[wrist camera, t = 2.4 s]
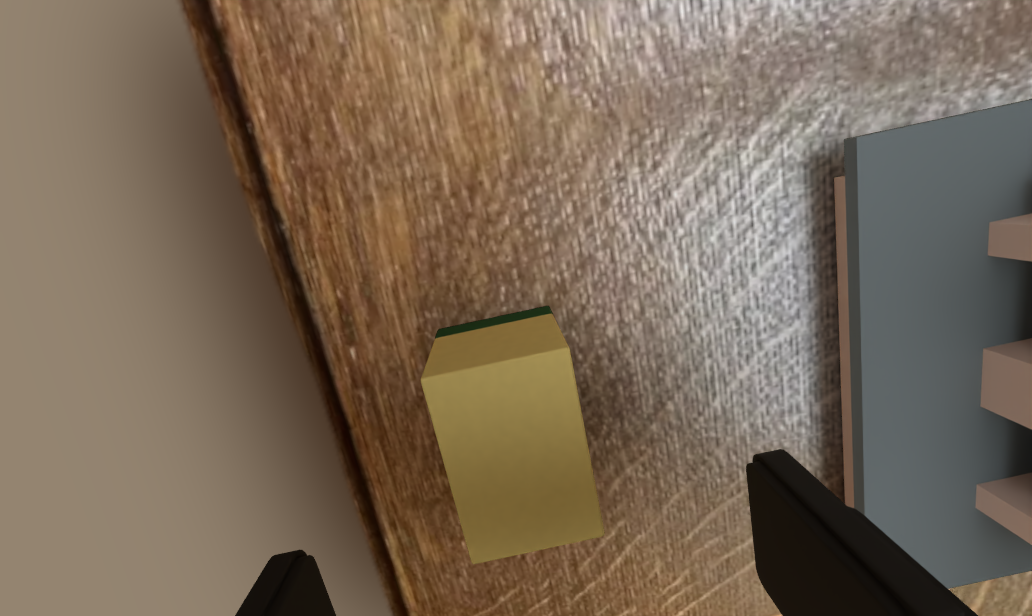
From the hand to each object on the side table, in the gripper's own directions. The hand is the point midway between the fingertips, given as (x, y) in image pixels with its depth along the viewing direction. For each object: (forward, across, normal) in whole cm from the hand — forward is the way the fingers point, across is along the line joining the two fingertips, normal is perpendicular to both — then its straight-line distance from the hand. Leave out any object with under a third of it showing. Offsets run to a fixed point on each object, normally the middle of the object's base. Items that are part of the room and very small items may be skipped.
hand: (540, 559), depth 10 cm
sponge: (+8, 0, 0) cm, 8 cm away
